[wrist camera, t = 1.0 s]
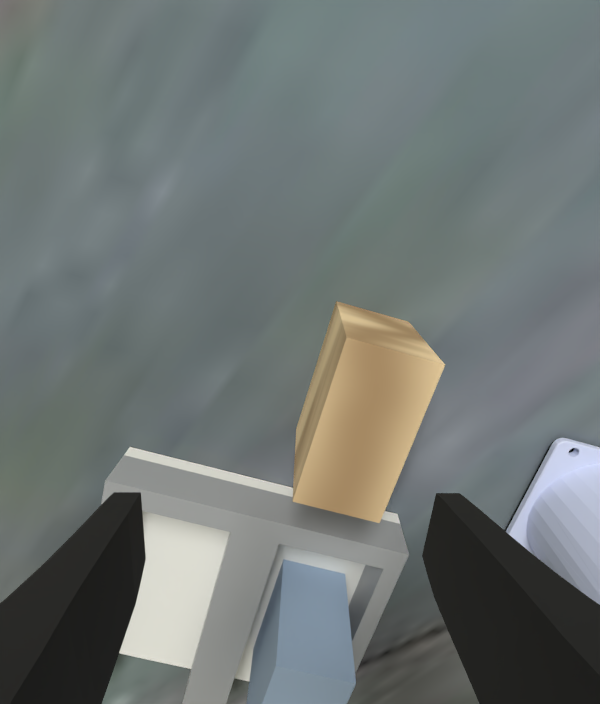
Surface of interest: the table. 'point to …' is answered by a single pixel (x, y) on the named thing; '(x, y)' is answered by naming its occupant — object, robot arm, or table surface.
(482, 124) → the table surface
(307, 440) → the maple plug block
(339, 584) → the slate-blue plug block
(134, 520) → the robot arm
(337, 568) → the grey socket board
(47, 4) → the table surface
